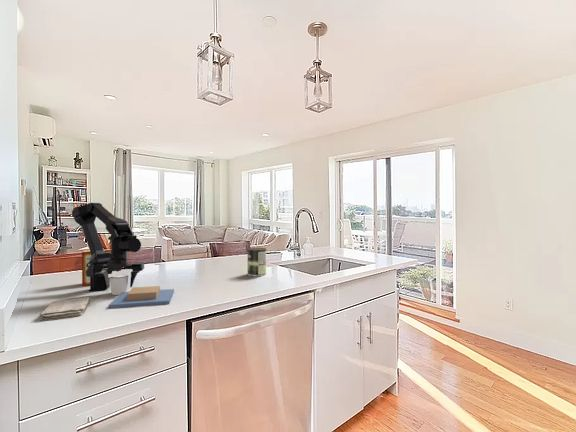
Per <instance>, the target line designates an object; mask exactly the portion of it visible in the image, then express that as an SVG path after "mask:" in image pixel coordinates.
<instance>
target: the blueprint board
mask: <svg viewBox="0 0 576 432" xmlns="http://www.w3.org/2000/svg"><path fill="white" fill-rule="evenodd" d="M174 293H175V289H174V288H170V289H169V288H168V289H161V285H157V286H156V285H155V286H152V285H151V286H139V287H138V286H136V287H131V290H129V291H127V292H122V293H121V294H120V295H117V296H116V297H115V298H114V299H113V300H112V301H111V302H110V303H109V304H108V309H118V308H119V309H120V308H132V307H145V306H157V305H159V306H160V305H161V304H162V305H170V303H171V300H172V298H173V296H174Z"/></svg>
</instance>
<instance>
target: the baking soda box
mask: <svg viewBox="0 0 576 432" xmlns="http://www.w3.org/2000/svg"><path fill="white" fill-rule="evenodd" d="M103 250H104V251H105V252H106V253H107V249H104V248H103ZM90 258H91V252H90V249H88V250H86V249H85V250H81V276H82V277H81V278H82V279H81V282H82V283H81V285H82V287H88V286H89V287H90V277H87V276H86V270H87V269H88V267H89V266H90V263H89V261H90Z"/></svg>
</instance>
